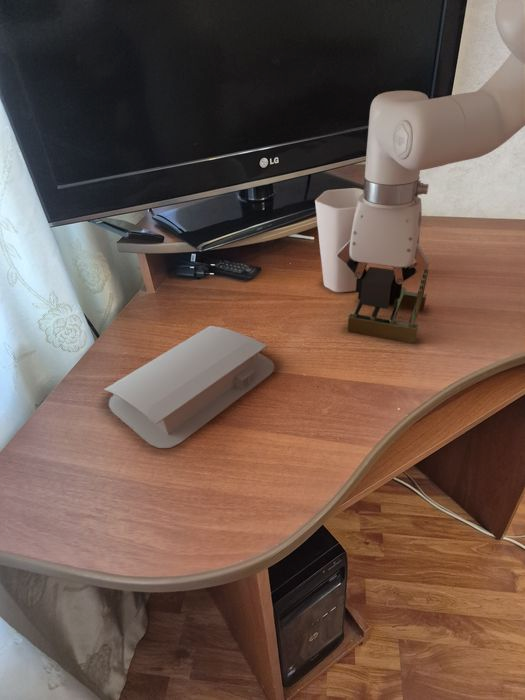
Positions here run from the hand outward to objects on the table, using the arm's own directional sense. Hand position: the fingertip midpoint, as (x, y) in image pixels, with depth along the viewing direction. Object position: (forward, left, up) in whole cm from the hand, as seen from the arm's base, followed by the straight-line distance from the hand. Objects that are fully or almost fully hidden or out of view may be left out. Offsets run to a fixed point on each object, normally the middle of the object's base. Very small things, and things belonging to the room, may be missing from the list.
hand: (377, 297), depth 75 cm
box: (0, 0, 0) cm, 0 cm away
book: (+22, +26, -4) cm, 34 cm away
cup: (+9, -10, -4) cm, 14 cm away
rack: (-2, 0, -4) cm, 5 cm away
